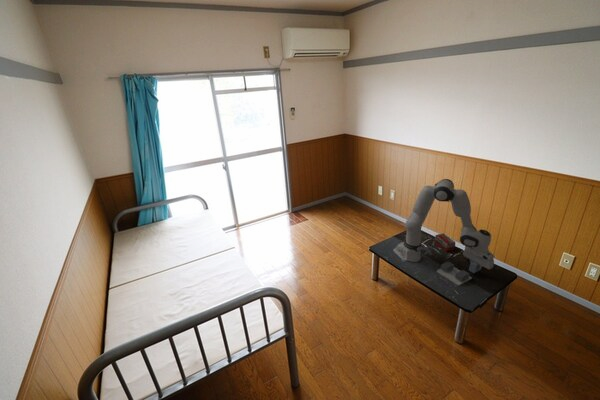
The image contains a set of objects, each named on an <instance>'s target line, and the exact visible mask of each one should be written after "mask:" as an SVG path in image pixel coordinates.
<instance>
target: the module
mask: <svg viewBox="0 0 600 400" xmlns="http://www.w3.org/2000/svg"><path fill="white" fill-rule="evenodd" d="M479 266H480V265H479V264H478V263H476V262H474V261H472V262H471V263H470V262H469V267H468V271H469V272H471V273H473V274H475V273H477V272H478V271H480V270H481V269H482V268H481V269H480V270H479V269H478V267H479ZM480 267H481V266H480Z"/></svg>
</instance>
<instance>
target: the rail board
mask: <svg viewBox="0 0 600 400" xmlns="http://www.w3.org/2000/svg"><path fill="white" fill-rule="evenodd" d="M436 273H438V274H440V275H441V276H443V277H444V278H446V279H447V280H449V281H450V282H452V283H453V284H455V285H457V286H458V287H460V286H462V285H463V284H465V283H466V282H468V281H470V280H472V279H473V278H472V277H471V276H470V273H469V272H467V271H466V270H464V269H461V270H460V269H458V268H457V267H455V264H454V263H452V262H451V261H444V262H443V263H442V264H440V268H439V269H437V270H436Z"/></svg>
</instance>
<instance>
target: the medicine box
mask: <svg viewBox="0 0 600 400" xmlns="http://www.w3.org/2000/svg"><path fill="white" fill-rule="evenodd" d="M434 244H436V245H437V246H438V247H440V248H441V249H442V251H443V250H444V252H446V253H447V252H450V251H454V250H455V248H456V241H455V240H453V239H452V238H450V236H448V235H447V234H445V233H443V232H442V233H439V234H435V236H434Z"/></svg>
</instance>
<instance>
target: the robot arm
mask: <svg viewBox="0 0 600 400" xmlns="http://www.w3.org/2000/svg"><path fill="white" fill-rule="evenodd" d="M454 184H455V183H454V182H453V180H451V179H448V178H444V179H441V180H439V181H437V183H435V184H434V186H432V185H425V186H424V187H422V189H421V190H420V192H419V194H418V196H417V198H416V201H415V202H414V205H413V208H412V210H411V213H410V215H409V216H408V218H407V220H406V221H405V226H404V227H405V230H406V231H405V232H406V236H405V239H403V241H402V242H400V243H398V244H397V245H396V247H395V248H393V251H392V252H393V253H395V254H396V256H398V258H400V259H401V260H402V261H403V262H411V263H416V262H419V261H420V260H421V259H422V256H421V247H422V235H423V234H422V227H423V224H424V222H425V220H426V219H427V216H428V214H429V212H430V210H431V208H432V206H433V204H434V202H435V200H437V201H439V202H444V203H445V202H447V203H448V202H449V203H451V204H450V205H451V209H452V211H453V214H454V215H455V216H456V217H457V218H460V220H461V224H462V227H461V229H460V237H459V243H461V245H463V246H465V247H464V250H463V252H462V255H463V257H465V258H467V259H468V258H469V259H470V262H469V264H470V263H471V262H472V261H474V262H476V263H478V264H479V265H480V266H481V267H482V268H485V269H486V270H492V269H493V267H494V265H495V260H494V258H495V254H493V253H492V252H491V251H490V250H489V247H490V245H491V241H492V234H491V233H490V232H489V231H487V230H486V229H479V230H477V228H476V227H475V226H474V224H473V222H472V216H471V212H472V209H471V207H472V206H471V202H470V199H469V196H468V193H467V192H466V190H464V189H455V185H454ZM480 266H479V267H478V269H479V271H480V269H482V268H481V267H480Z"/></svg>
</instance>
